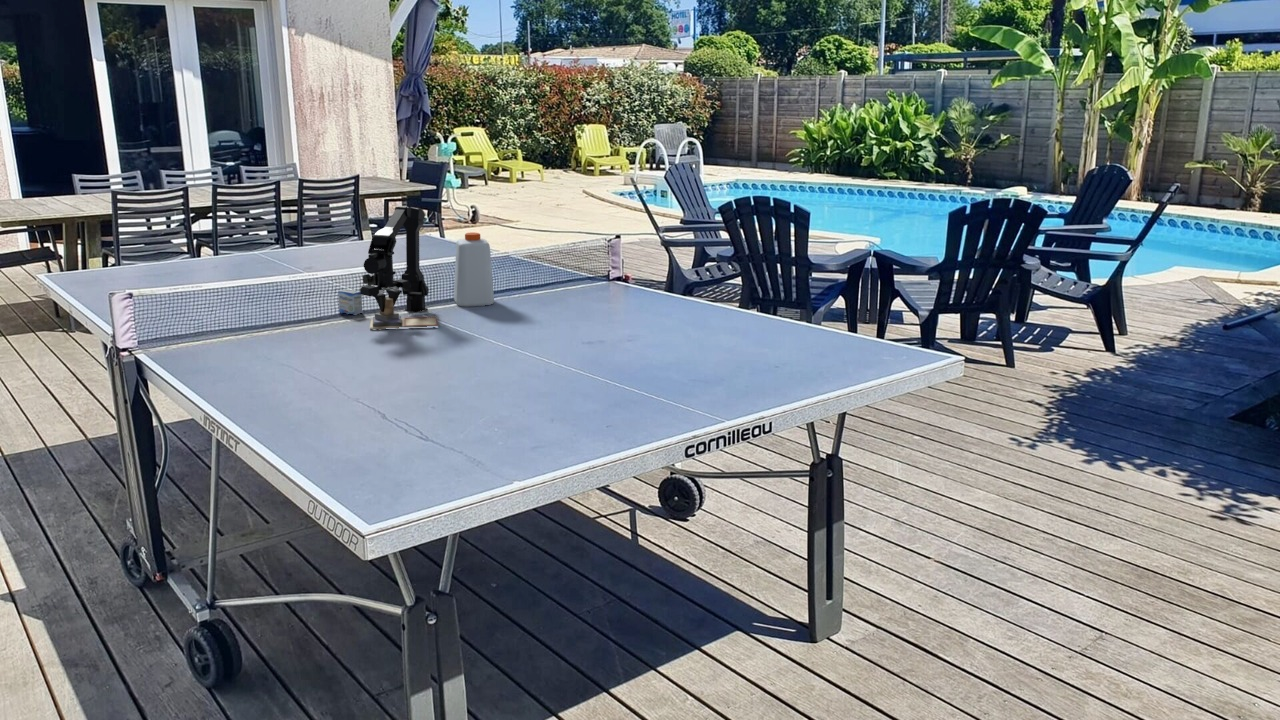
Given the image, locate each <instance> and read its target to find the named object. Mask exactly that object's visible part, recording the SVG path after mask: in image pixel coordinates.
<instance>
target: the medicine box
mask: <svg viewBox="0 0 1280 720" xmlns="http://www.w3.org/2000/svg"><path fill="white" fill-rule="evenodd" d="M337 293H338V311H339V313H340V314H342V313H349V314H358V313H362V314H363V295H361V294H360V291H357V290H353V289H346V288H345V289H342V290H341V289H340V290H338V292H337Z"/></svg>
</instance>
